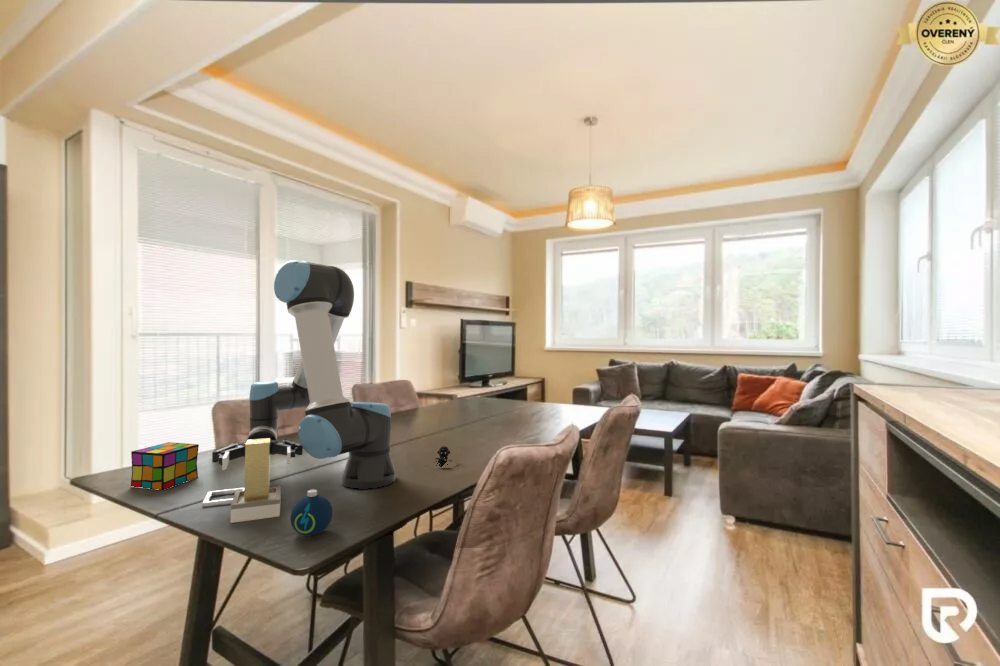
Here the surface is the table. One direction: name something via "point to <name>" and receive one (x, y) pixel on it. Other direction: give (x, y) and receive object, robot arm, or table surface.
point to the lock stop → (257, 469)
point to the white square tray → (256, 506)
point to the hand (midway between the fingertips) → (257, 461)
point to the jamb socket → (219, 492)
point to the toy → (164, 465)
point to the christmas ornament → (311, 514)
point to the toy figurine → (443, 455)
